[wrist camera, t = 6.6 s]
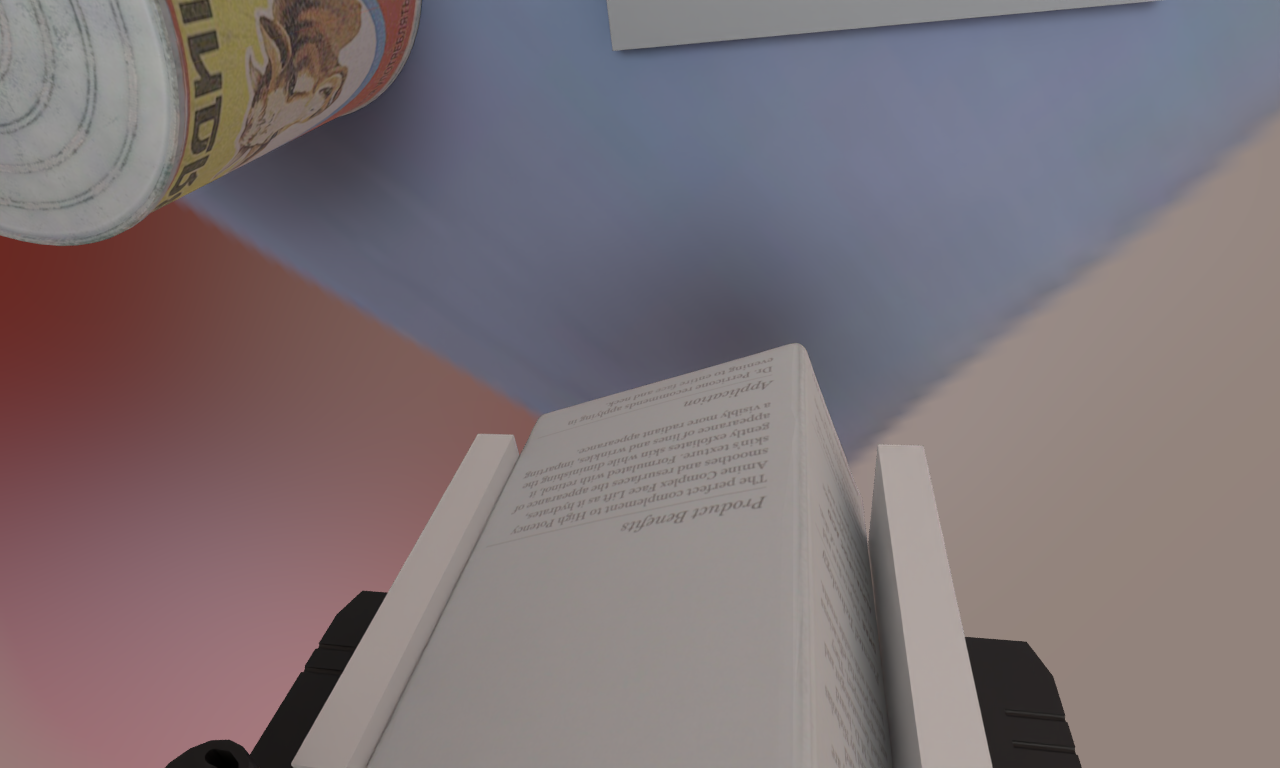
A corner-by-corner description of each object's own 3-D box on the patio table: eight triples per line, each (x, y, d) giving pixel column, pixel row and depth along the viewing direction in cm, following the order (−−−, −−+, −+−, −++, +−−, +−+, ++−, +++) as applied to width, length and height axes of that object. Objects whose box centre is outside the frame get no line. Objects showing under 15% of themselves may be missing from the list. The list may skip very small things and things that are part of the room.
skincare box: (623, 538, 17) (398, 1365, 8) (531, 398, 15) (71, 1290, 6) (878, 488, 15) (1006, 1595, 5) (810, 314, 13) (823, 1609, 3)
